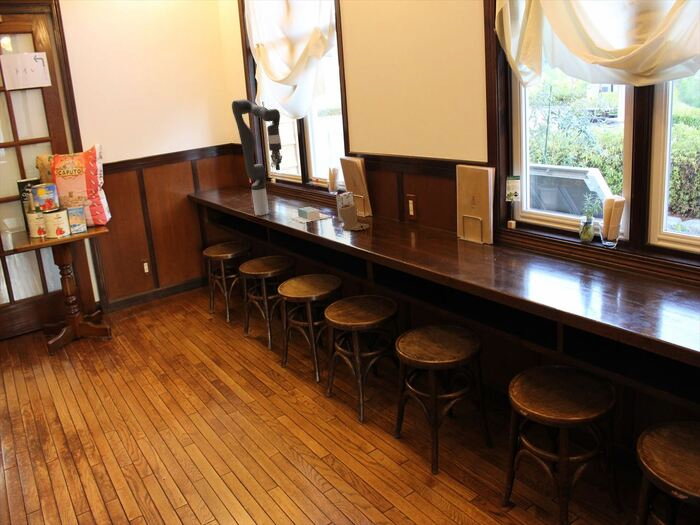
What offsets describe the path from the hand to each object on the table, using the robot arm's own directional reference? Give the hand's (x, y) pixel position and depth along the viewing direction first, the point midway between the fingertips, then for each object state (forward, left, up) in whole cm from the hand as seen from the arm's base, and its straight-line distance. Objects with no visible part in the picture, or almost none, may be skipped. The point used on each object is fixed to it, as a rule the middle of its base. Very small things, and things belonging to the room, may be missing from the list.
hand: (277, 170), depth 390 cm
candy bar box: (+38, +25, -31) cm, 55 cm away
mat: (+16, +12, -31) cm, 37 cm away
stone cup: (+62, +15, -31) cm, 71 cm away
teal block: (+6, +12, -28) cm, 31 cm away
